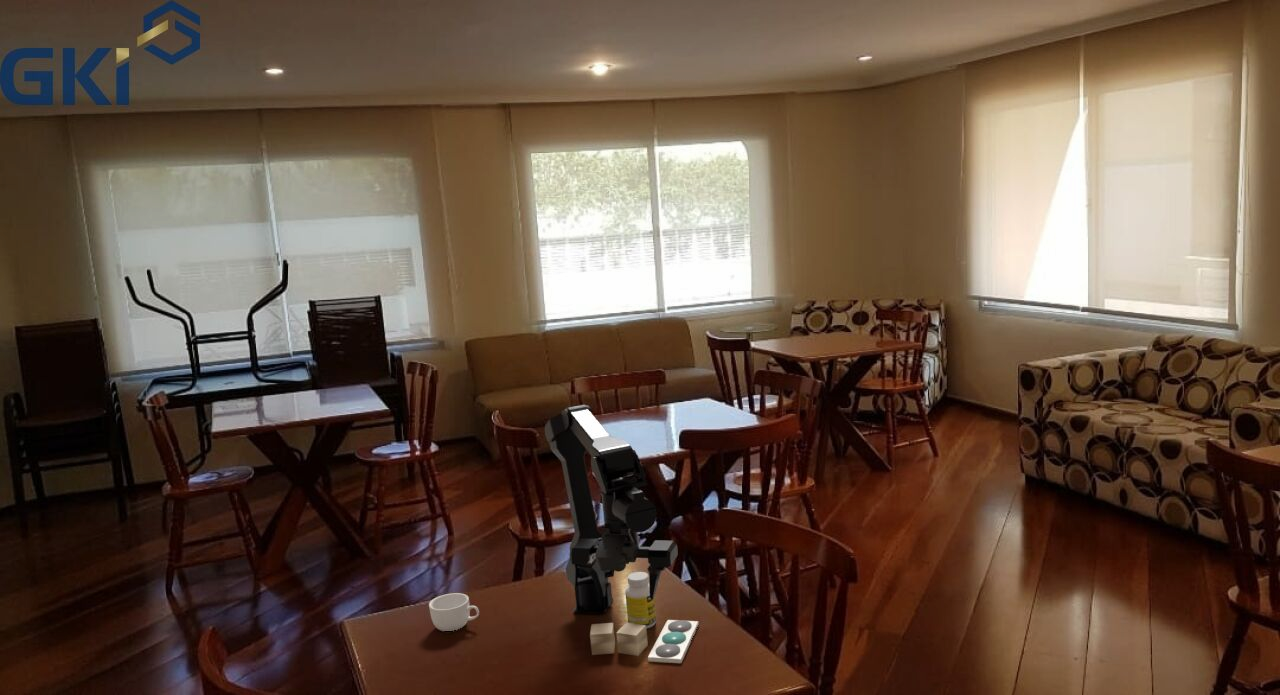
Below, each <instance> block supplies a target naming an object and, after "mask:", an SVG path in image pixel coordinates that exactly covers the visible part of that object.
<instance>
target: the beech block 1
mask: <svg viewBox="0 0 1280 695" xmlns="http://www.w3.org/2000/svg"><path fill="white" fill-rule="evenodd" d="M589 633H590V634H589V638H590V649H591V655H592V656H594V655H609V654H614V653H615V649H616V648H615V646H616V639H615V637H616V636H615V628H614V622H607V623H606V622H603V623H594V624H593V623H592V624H591V626H590V632H589Z"/></svg>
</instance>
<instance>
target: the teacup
mask: <svg viewBox="0 0 1280 695" xmlns="http://www.w3.org/2000/svg"><path fill="white" fill-rule="evenodd" d="M469 598H470V597H469V596H468V595H467V594H464V593H460V592H459V593H458V592H456V593H455V592H453V593H452V592H451V593H446V594H443V595H439V596H436V597H435V598H433V599H431V600H430V601H429V603H428V607H429V613H430V618H431V621H432V623H433V626H435V628H436V629H437V630H439V631H440V632H441V631H442V632H444V631H453V632H455V631H454V630H456V631H459V630H461V629H462V628H463V627H464V626H465V625H467V623H468V621H473V620H475V619H476V618H477V617H478V616H479V615H480V610H479V608H478V606H476V605H470V599H469ZM472 609H474V610H475V612H476V615H474V616H470V615H471V614H470V613H471V612H470V611H471V610H472ZM460 628H461V629H460ZM458 629H459V630H458Z"/></svg>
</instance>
